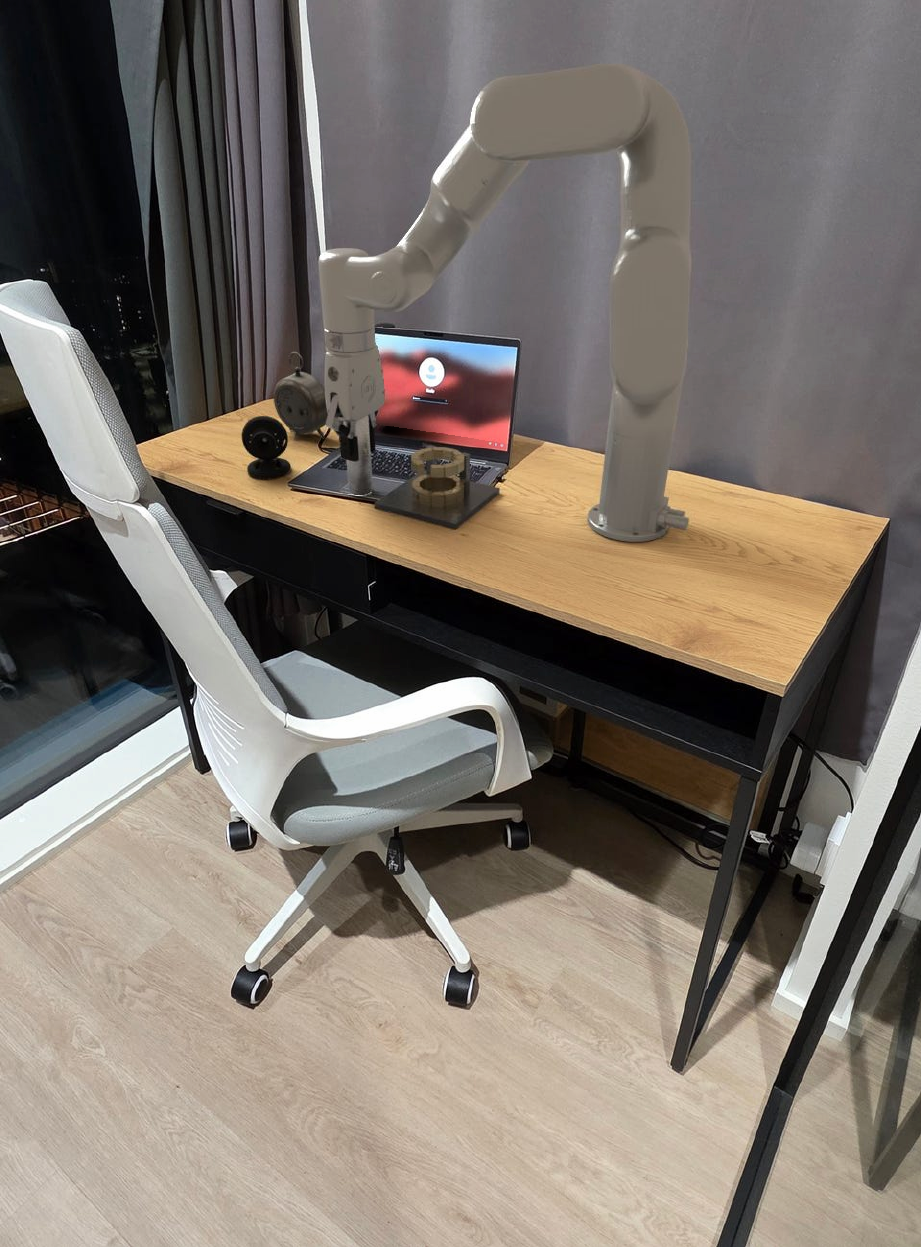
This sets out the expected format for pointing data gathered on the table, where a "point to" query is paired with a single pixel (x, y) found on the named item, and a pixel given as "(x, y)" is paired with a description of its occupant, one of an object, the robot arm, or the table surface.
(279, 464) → the webcam
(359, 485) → the steel tube
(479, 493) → the collar stand
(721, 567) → the table surface
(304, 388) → the alarm clock
